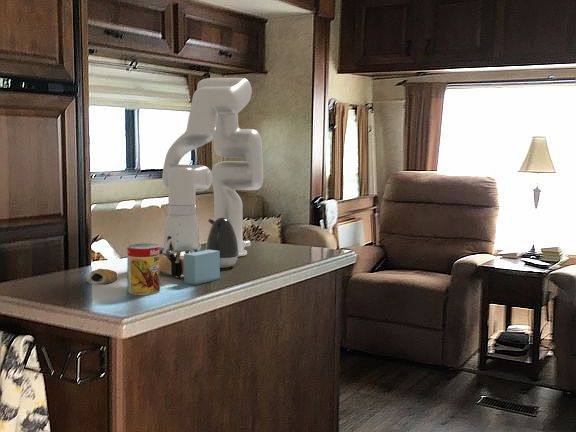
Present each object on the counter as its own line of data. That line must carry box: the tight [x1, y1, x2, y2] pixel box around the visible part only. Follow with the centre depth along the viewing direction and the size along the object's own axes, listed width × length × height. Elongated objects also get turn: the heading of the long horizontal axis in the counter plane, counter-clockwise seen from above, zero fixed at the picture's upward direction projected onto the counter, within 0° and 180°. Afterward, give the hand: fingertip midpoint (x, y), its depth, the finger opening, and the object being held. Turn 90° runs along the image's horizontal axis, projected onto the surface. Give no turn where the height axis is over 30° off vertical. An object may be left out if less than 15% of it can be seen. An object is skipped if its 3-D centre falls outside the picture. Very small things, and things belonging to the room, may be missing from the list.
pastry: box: [86, 268, 118, 285], centre depth 193 cm, size 9×7×4 cm
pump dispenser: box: [205, 218, 239, 269], centre depth 215 cm, size 10×10×15 cm
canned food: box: [127, 242, 161, 296], centre depth 179 cm, size 8×8×12 cm
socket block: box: [183, 249, 221, 286], centre depth 193 cm, size 10×4×8 cm, turn 144°
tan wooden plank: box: [159, 252, 184, 276], centre depth 199 cm, size 5×20×5 cm, turn 54°
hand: (182, 274), depth 198 cm, fingers closed on tan wooden plank, 4 cm apart
